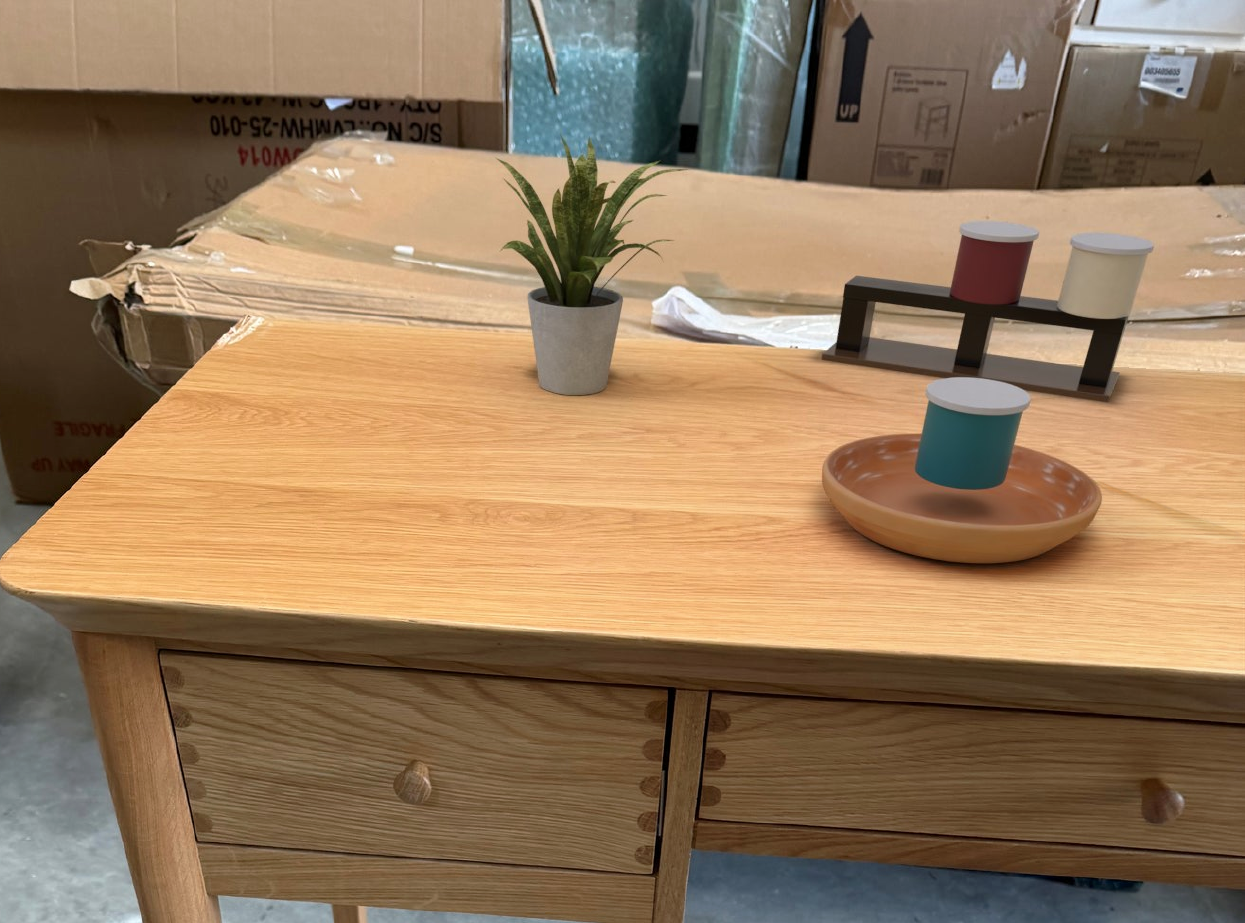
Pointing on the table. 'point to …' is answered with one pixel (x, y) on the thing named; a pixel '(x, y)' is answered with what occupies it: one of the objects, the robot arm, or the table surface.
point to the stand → (974, 340)
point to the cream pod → (1103, 275)
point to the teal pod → (969, 432)
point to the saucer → (958, 503)
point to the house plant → (576, 275)
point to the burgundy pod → (992, 262)
